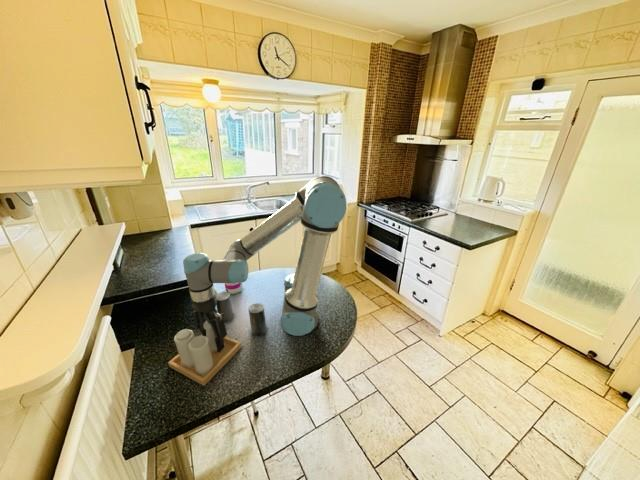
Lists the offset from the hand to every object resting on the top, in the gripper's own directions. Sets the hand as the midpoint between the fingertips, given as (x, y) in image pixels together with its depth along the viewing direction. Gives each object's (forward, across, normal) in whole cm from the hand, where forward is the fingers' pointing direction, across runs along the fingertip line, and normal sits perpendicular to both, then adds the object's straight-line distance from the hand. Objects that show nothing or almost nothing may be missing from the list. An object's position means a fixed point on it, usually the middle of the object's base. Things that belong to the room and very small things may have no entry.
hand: (214, 346), depth 97 cm
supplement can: (+2, +21, -33) cm, 39 cm away
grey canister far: (+2, +9, -15) cm, 18 cm away
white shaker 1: (+1, +3, +8) cm, 9 cm away
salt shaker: (+1, 0, 0) cm, 1 cm away
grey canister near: (+2, -9, -15) cm, 18 cm away
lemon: (+2, +24, -21) cm, 32 cm away
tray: (+2, 0, +4) cm, 4 cm away
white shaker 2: (+1, -4, +8) cm, 9 cm away
